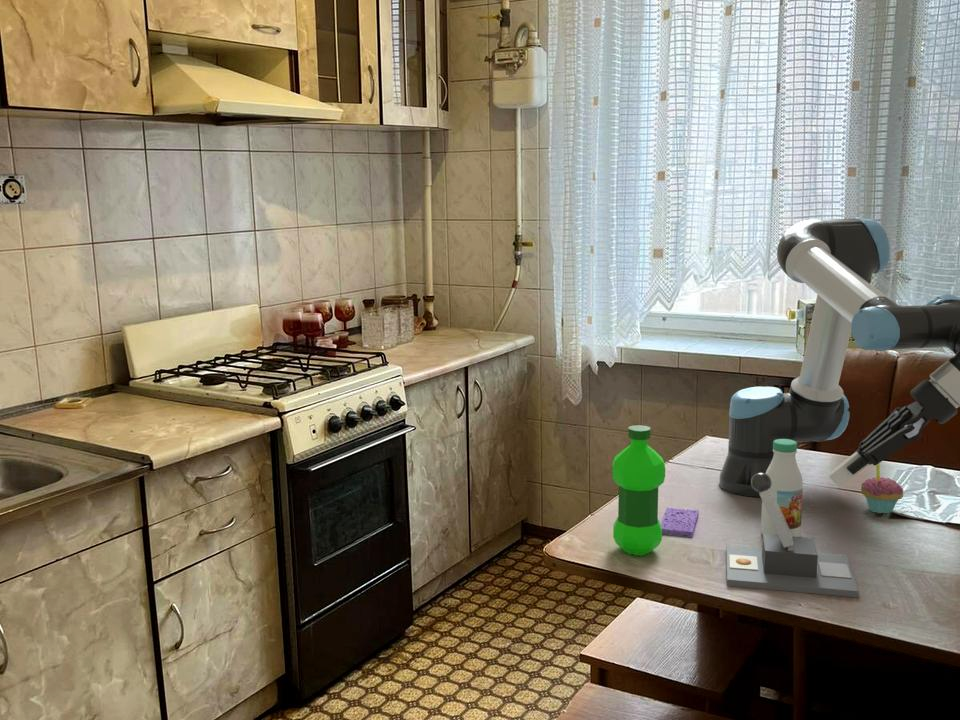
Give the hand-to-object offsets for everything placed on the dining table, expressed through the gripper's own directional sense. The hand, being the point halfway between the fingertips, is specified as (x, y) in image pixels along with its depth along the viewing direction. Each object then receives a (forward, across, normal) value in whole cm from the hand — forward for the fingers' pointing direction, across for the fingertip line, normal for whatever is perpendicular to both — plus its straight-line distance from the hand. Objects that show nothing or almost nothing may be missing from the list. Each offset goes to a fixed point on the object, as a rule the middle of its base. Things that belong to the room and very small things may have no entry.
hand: (833, 480), depth 162 cm
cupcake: (+3, +39, -24) cm, 46 cm away
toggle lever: (+14, +1, -4) cm, 15 cm away
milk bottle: (+19, +19, -8) cm, 28 cm away
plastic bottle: (+38, +5, +12) cm, 40 cm away
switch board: (+18, +1, -8) cm, 20 cm away
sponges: (+33, +21, +6) cm, 40 cm away
